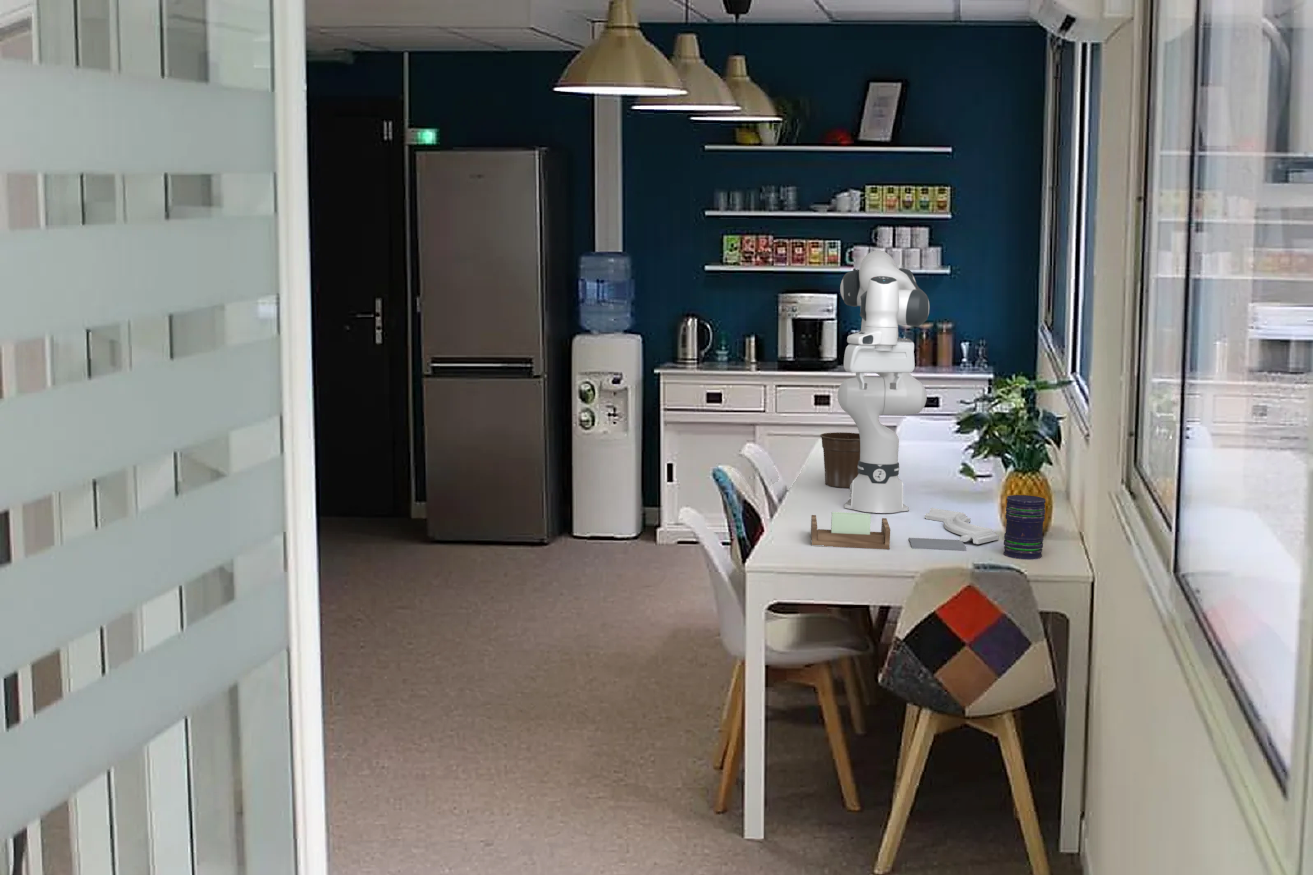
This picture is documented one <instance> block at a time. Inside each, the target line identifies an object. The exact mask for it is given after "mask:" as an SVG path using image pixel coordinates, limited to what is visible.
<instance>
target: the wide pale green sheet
mask: <svg viewBox="0 0 1313 875" xmlns="http://www.w3.org/2000/svg"><path fill="white" fill-rule="evenodd" d="M871 519H872V514H871V513H868V512H865V513H864V512H863V513H862V512H842V511H841V512H840V511H839V512H838V511H832V512H831V525H830V528H831V529H830V530H831V533H845V534H867V535H870V532H871V522H872V520H871Z"/></svg>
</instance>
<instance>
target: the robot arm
mask: <svg viewBox="0 0 1313 875" xmlns="http://www.w3.org/2000/svg"><path fill="white" fill-rule="evenodd" d="M839 288H840V289H839V291H840V296H841V298H842V300H843V303H844V304H845V305H846V306H850V307H855V308H857V307H860V313H859V316H860V317H861V323H860V324H861V325H860V327H861V328H860V331H858V332H856V333H852V334H850V335H848V336H847V339H846V342H847V343H848V345H847V346H846V347H845V350H844V355H843V356H844V357H843V369H844V370H845V372H846V373H855V376H854V377H851V378H845V379H844V380H843V381H842V382H841V384H840V385H839V386H838V389H837V402H838V405H839V406H840V407H841V409H842V410H843V411H844V412H845V413H847V415H849V416H850V418H851V419H852V420H853V422H854V423H855V425H856V428H857V430H858V433H859V435H860V460H859V461H858V473H859V474H858V476H857V477H856V478H855V479H854V480H853V482H852V483H851V484H850V488H849V492H850V494H849V497H850V498H849V500H847V501H846V502H845V503H844V504H843V508H844V509H850V510H855V511H857V512H863V513H864V512H865V513H877V514H894V513H900V512H909V506H908V505H906V504H905V503H904V482H903V481H902V480H901V479H900V477H899V474H900V463H899V447H900V446H899V444H900V439H899V436H898V434H897V433H896V431H894V430H893V429H892V428H889V427H887V426H886V425H885V424H882V423H881V422H880V419H879V418H880V416H883V415H884V416H902V417H903V416H909V415H915V414H919V413H920V412H922V411H923V409H924V408H925V406H926V404H927V400H928V399H927V398H928V396H927V394H928V393H927V390H926V388H925V385H924V384H923V383H922V382H921V381H920V380H919V379H917V378H915V377H914V376H913V375H912V374H911V373H912V372H913V371H914V370H915V368H916V367H915V365H916V363H915V353H914V351H915V343H914V341H913V340H912V339H910V338H909V337H903V338H902V337H899V326H908V327H917V328H919V327H920V326H921V325H923V324H924V323H925V322H926V321H927V320H928V317H929V314H930V301H929V296H928V295H927V294H926V292H925V291H923V290H922V289H921V288H920V287H919V286H918V284H917V281H916V278H915V276H914V274H913V272H912V271H911V269H908V268H902V267H901V268H898V267H897V263H896V262H895V260H894V258H893V257H892V256H891V254H889V253H887V252H886V251H883V250H873V251H871V252H868V253H867V254H866V255H865V256H864V258H863V259H862V261H861V262H860V266H859V269H856V267H855V268H853V269H852V270H850V271H848V272H846V273H845V274H844V276H842V280H841V283H840V287H839ZM865 373H875V374H877V375H878V376H865Z"/></svg>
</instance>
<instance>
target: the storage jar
mask: <svg viewBox="0 0 1313 875" xmlns="http://www.w3.org/2000/svg"><path fill="white" fill-rule="evenodd" d="M1045 503H1046V499H1045V498H1044V497H1041V496H1036V495H1035V496H1034V495H1025V494H1023V495H1022V494H1012V495H1008V496H1006V506H1005V519H1006V522H1005V523H1006V524H1005V525H1006V526H1005V532H1004V536H1003V538H1004V539H1003V549H1004V550H1003V556H1005V557H1007V558H1011V559H1015V560H1025V561H1026V560H1032V561H1033V560H1040V559H1042V558H1043V554H1042V552H1043V548H1044V535H1043V531H1044V530H1043V529H1044V522H1045V516H1046V504H1045ZM1041 557H1042V558H1041Z"/></svg>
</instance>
